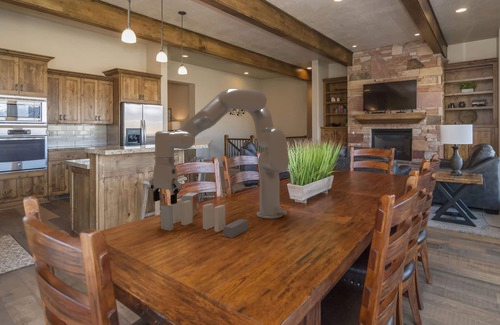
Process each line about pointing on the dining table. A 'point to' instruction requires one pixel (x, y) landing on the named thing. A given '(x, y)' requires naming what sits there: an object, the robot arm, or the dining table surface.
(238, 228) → the end block
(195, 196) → the small box
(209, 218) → the tile
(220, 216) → the tile
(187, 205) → the tile
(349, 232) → the dining table surface
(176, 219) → the end tile
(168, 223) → the tile
